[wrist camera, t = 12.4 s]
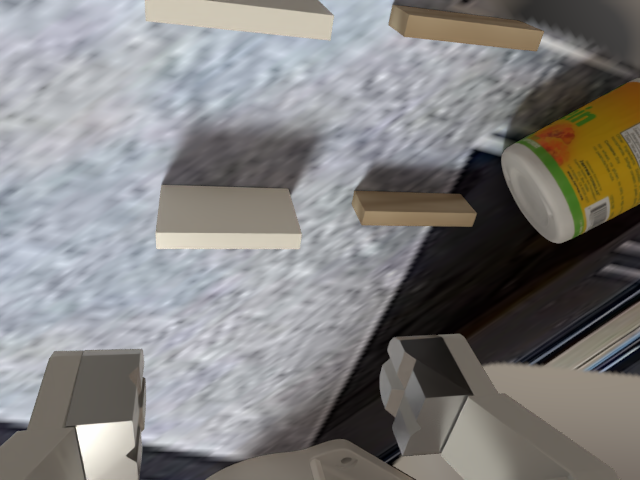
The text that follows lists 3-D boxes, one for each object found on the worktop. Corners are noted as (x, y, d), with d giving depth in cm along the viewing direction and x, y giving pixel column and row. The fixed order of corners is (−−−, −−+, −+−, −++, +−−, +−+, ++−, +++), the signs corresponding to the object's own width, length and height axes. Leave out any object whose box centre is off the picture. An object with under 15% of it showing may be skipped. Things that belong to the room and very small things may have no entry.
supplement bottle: (487, 151, 27) (658, 58, 26) (531, 238, 28) (700, 150, 27) (522, 147, 22) (739, 30, 21) (576, 255, 22) (790, 146, 21)
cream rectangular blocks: (153, -26, 18) (144, -7, 15) (311, -6, 20) (333, 15, 17) (161, 199, 24) (156, 248, 21) (286, 202, 25) (299, 248, 22)
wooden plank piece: (392, 4, 21) (409, 14, 19) (519, 20, 22) (544, 31, 21) (351, 204, 26) (361, 225, 24) (456, 206, 28) (472, 226, 26)
